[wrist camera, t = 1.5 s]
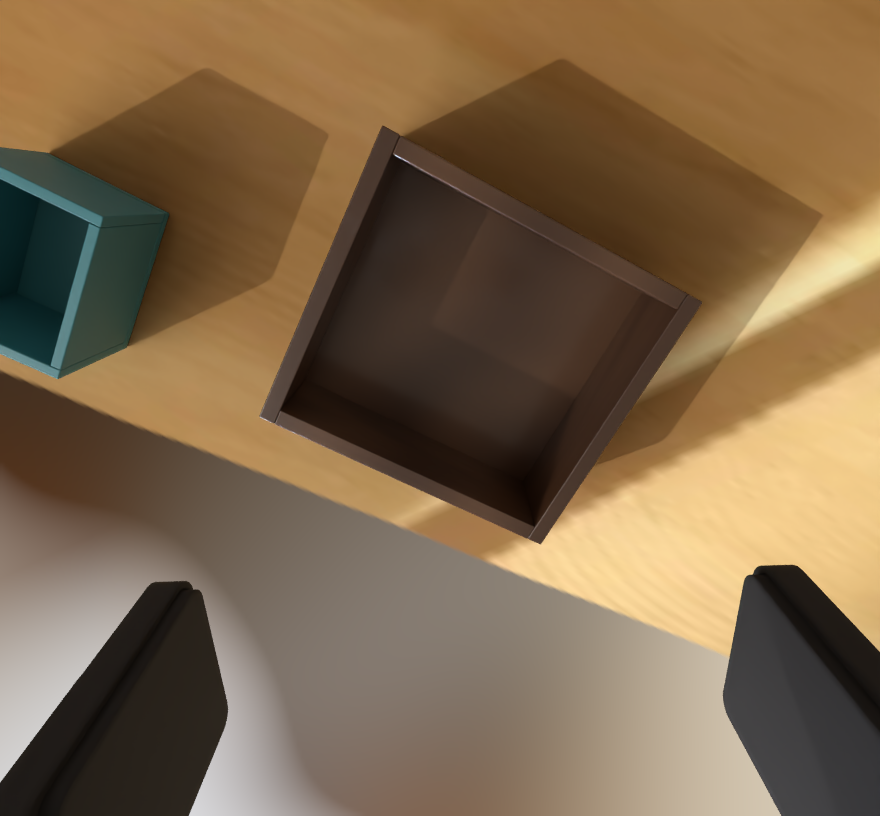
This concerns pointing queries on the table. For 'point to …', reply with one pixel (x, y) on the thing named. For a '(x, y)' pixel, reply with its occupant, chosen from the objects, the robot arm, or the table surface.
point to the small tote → (69, 262)
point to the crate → (471, 342)
